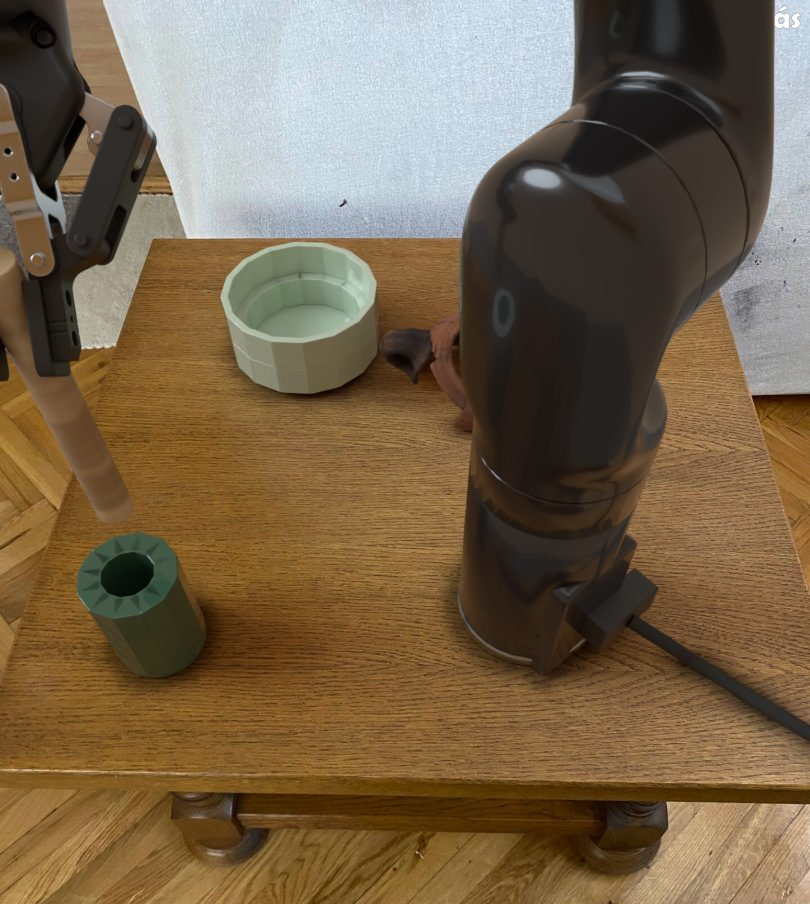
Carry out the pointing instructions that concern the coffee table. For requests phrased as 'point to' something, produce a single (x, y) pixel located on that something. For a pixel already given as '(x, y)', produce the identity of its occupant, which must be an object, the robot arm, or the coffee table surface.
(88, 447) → the stick
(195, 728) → the coffee table surface
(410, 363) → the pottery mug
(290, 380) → the bowl
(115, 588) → the utensil pot
